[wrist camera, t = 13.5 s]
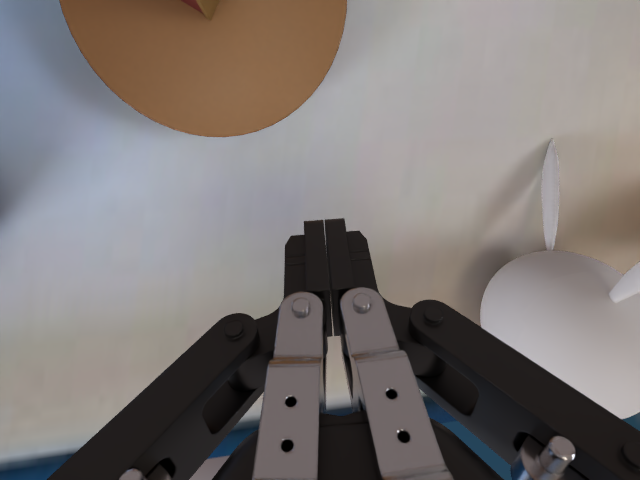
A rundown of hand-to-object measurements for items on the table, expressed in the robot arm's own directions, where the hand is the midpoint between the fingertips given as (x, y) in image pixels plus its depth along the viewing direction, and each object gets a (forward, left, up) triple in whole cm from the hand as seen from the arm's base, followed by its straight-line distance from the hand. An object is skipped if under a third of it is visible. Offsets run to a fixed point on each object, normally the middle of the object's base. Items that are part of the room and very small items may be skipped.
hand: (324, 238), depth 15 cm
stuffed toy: (-25, +12, -23) cm, 36 cm away
